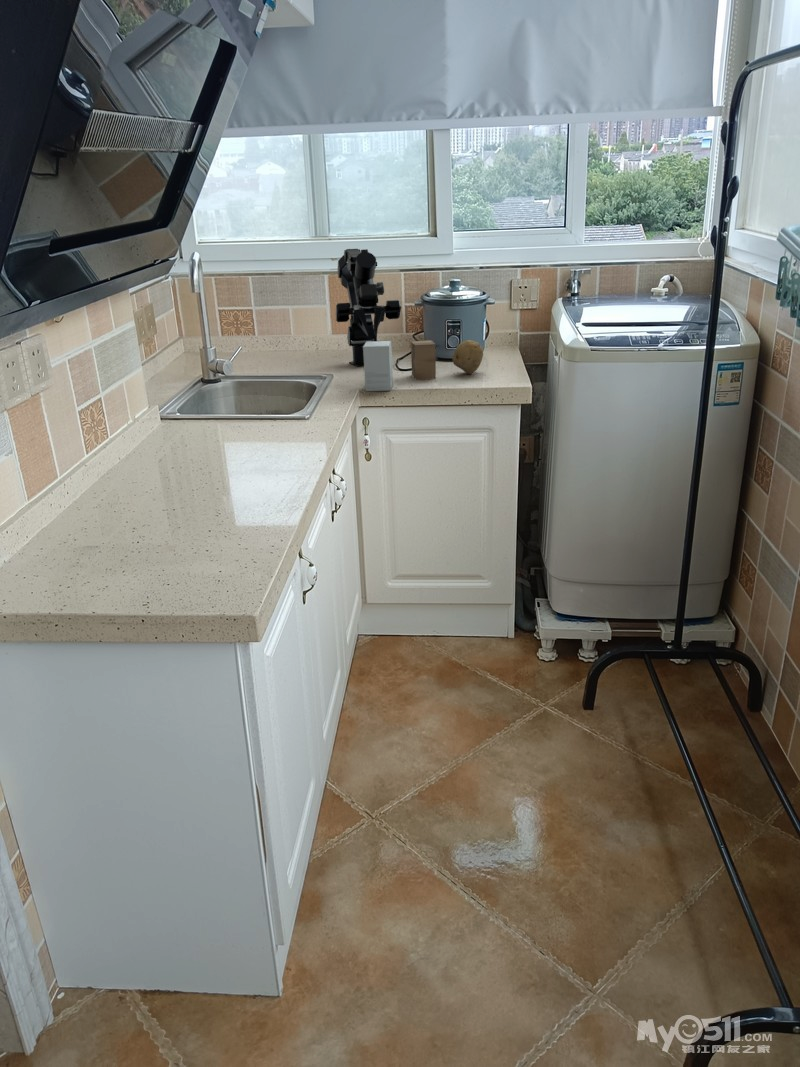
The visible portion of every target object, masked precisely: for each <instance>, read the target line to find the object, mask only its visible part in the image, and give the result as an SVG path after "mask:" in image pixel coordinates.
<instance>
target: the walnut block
mask: <svg viewBox="0 0 800 1067" xmlns="http://www.w3.org/2000/svg"><path fill="white" fill-rule="evenodd" d="M410 350H411V352H410V354H411V356H410V357H411V376H412V378H414V379H415V380H416V381H417V380H428V379H436V378H437V375H436V373H437V372H436V371H437V368H436V367H437V366H436V360H437V358H436V357H437V356H436V343H435V342H434V341H433V340H429V339H428V340H415V341H414V340H413V341H410Z"/></svg>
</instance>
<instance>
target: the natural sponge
mask: <svg viewBox="0 0 800 1067" xmlns="http://www.w3.org/2000/svg"><path fill="white" fill-rule="evenodd" d="M483 356H484V350H483V347H482V346H481V345H480V344H479V342H477V341H474V340H470V339H467V340H463V341H462V342H460V343H459V344H458V345H457V346H456V348H455V350H454V352H453V355H452V363H453V365H454V366H456V367H457V368H459V369H461V370H462V371H463V372H464V373H465V374H467V375H472V374H474V373H476V371H477V370H478V369H479V367H480V366H481V363H482V361H483Z"/></svg>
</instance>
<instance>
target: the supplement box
mask: <svg viewBox="0 0 800 1067" xmlns="http://www.w3.org/2000/svg"><path fill="white" fill-rule="evenodd" d="M392 352H393V350H392V341H391V340H387V341H386V340H385V341H384V340H381V341H378V340H377V341H367V342H366V343H365V345H364V346H363V355H364V366H363V371H364V372H363V374H364V385H365V387H364V388H365V392H381V391H382V392H383V391H385V392H387V391H392V388H393V385H394V378H393V377H394V376H393V356H392V355H393V353H392Z"/></svg>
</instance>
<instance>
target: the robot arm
mask: <svg viewBox="0 0 800 1067" xmlns="http://www.w3.org/2000/svg"><path fill="white" fill-rule="evenodd" d="M377 267H378V262H377V258H376V256H375V255H374V254H373V253H371V252H369V250H368V249H367V248H366V249H360V248H359V249H358V248H347V249H345V250H344V251H343V255H342V256H341V257H340V258H339V260H337V277H338V279H339V280H340V285H341V286H342V287H343V288H345V289H347V294H348V295H347V296H348V301H349V302H338V303H336V305H335V320H336V322H337V323H347V322H348V321H349V326H348V328H347V344H348V346H349V347H352V361H349V362H348V363H349V365H350V364H351V365H353V366H356V367H364V355H363V346H364V345H365V343H366V342H367V341H378V333H379V332H378V330H379V327H380V323H381V322H384V321H385V318H386V319H387V320H397V319H399V318H400V317H401V316H400V315H401V312H402V303H401V301H400V300H398V299H393V300H386V302H385V305H384V304H383V305H378V304H379V296H383V295H384V293H385V287H384V282H383V281H381V282H380V281H379V282H376V283H374V278H375V273H376V268H377ZM372 315H374V316H373V317H374V318H372Z"/></svg>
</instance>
